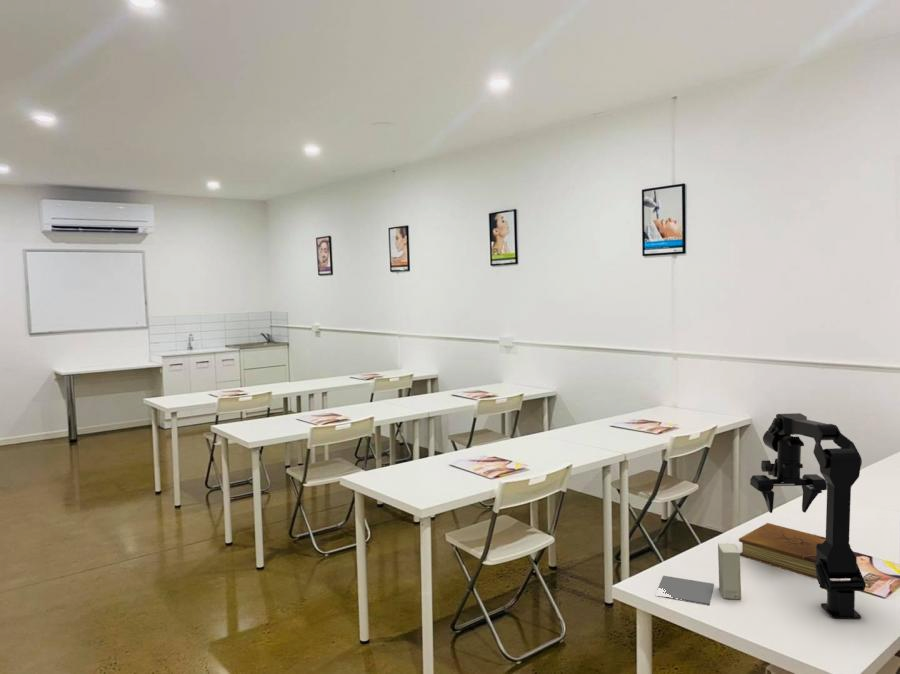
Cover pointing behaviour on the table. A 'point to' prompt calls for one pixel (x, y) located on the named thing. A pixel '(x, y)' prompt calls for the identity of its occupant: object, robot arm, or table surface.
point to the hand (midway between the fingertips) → (787, 512)
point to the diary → (782, 548)
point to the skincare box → (729, 571)
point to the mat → (687, 589)
